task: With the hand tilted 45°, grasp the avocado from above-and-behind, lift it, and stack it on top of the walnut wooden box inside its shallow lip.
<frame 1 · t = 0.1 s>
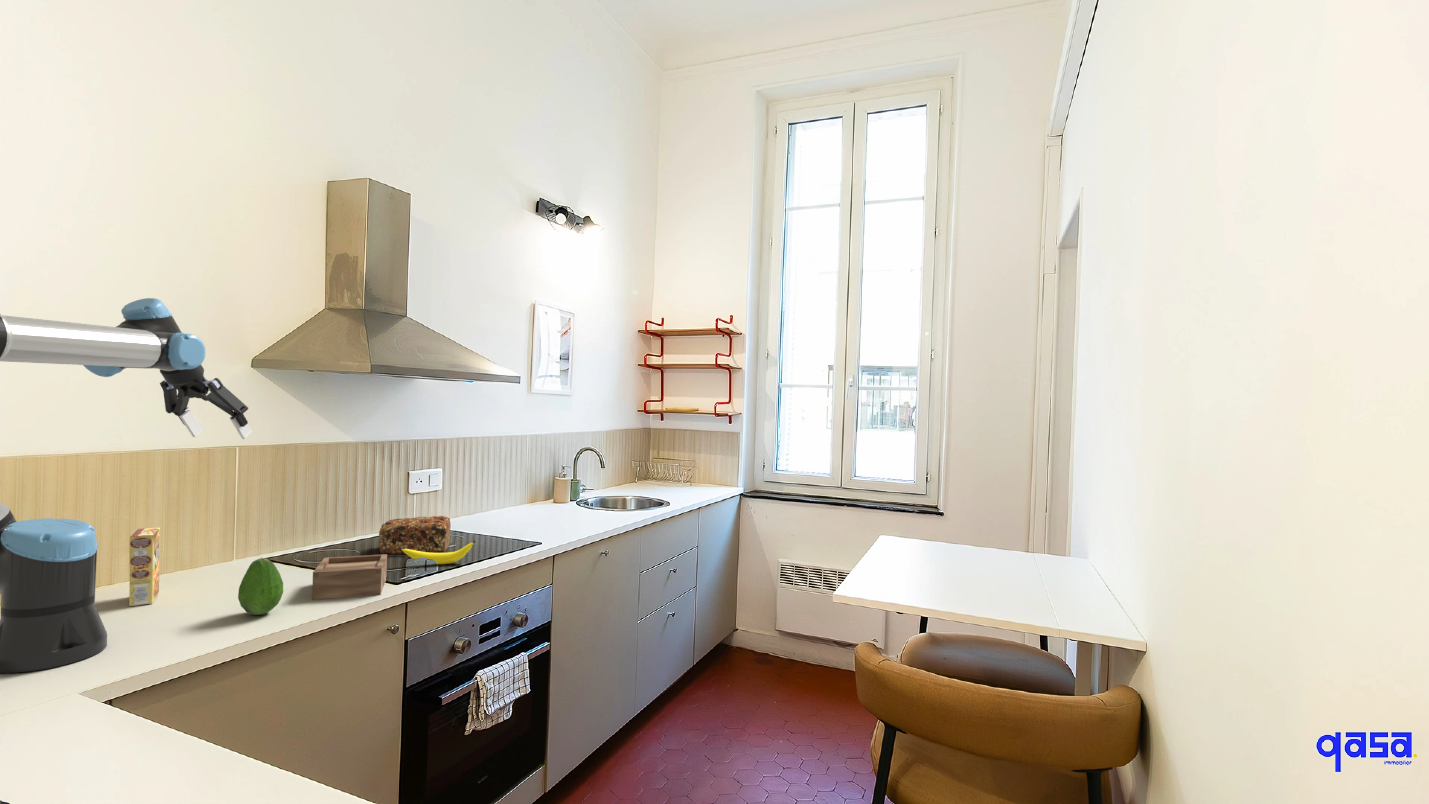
hand: (222, 434, 164), 36 cm above the counter, tool tilted 35°, fingers open, 13 cm apart
banana: (438, 565, 182), on the counter
candy box: (144, 601, 146), on the counter
walnut wooden box: (351, 588, 159), on the counter
bread: (415, 550, 198), on the counter
avocado: (260, 615, 139), on the counter
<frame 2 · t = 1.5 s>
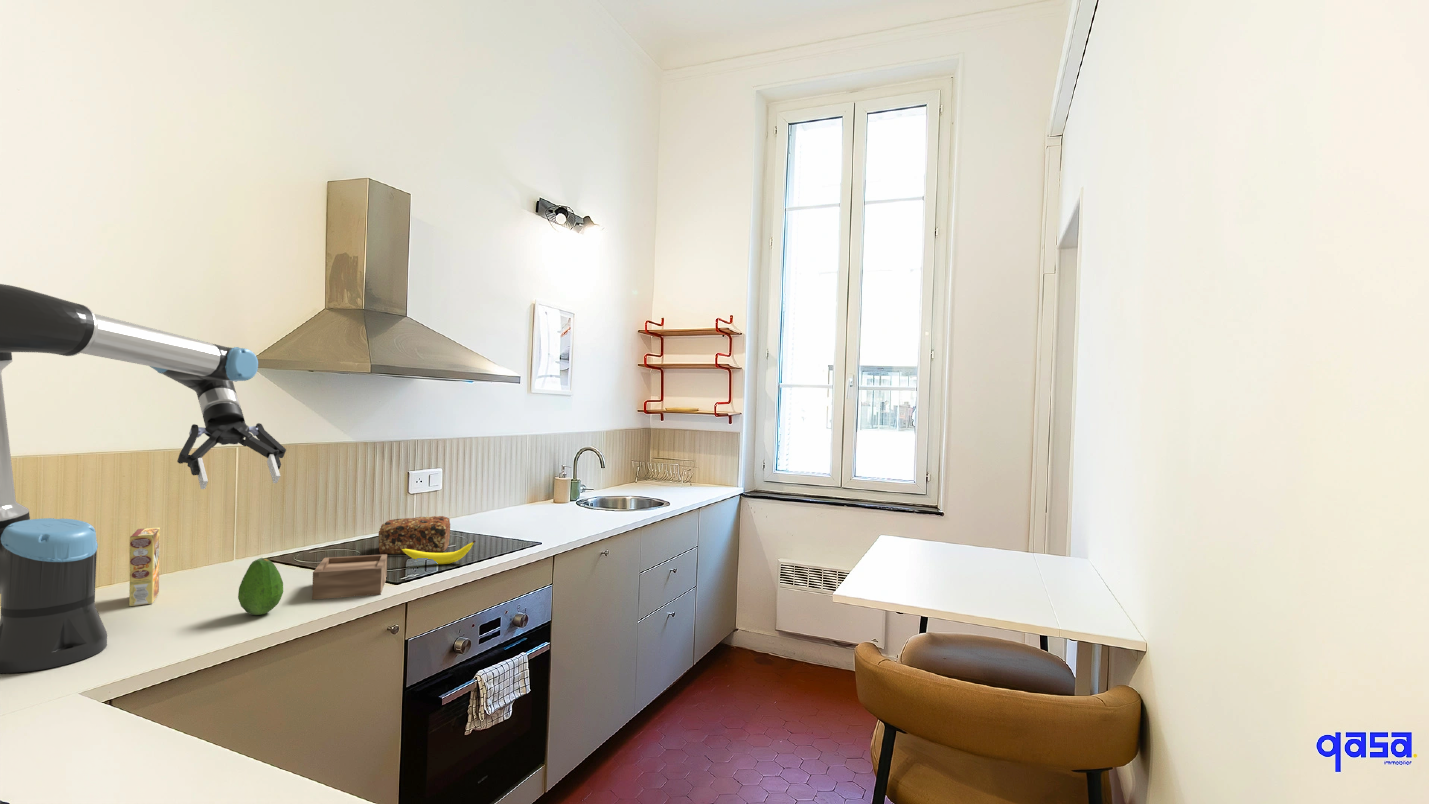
hand: (242, 482, 146), 27 cm above the counter, tool tilted 45°, fingers open, 13 cm apart
nothing on the counter moved.
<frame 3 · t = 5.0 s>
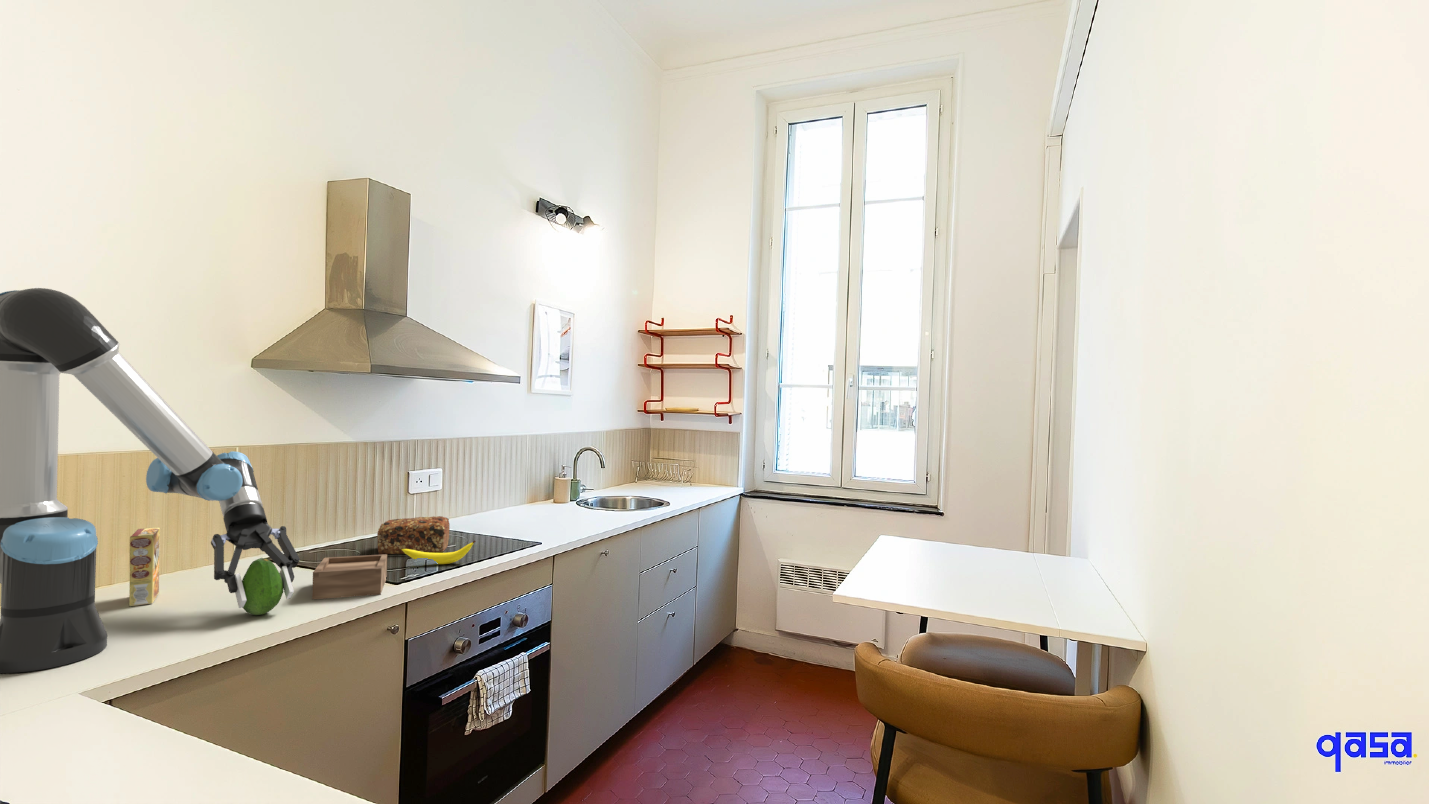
hand: (267, 599, 137), 4 cm above the counter, tool tilted 45°, fingers closed on avocado, 8 cm apart
avocado: (260, 614, 139), on the counter, touching gripper
everything else where it was.
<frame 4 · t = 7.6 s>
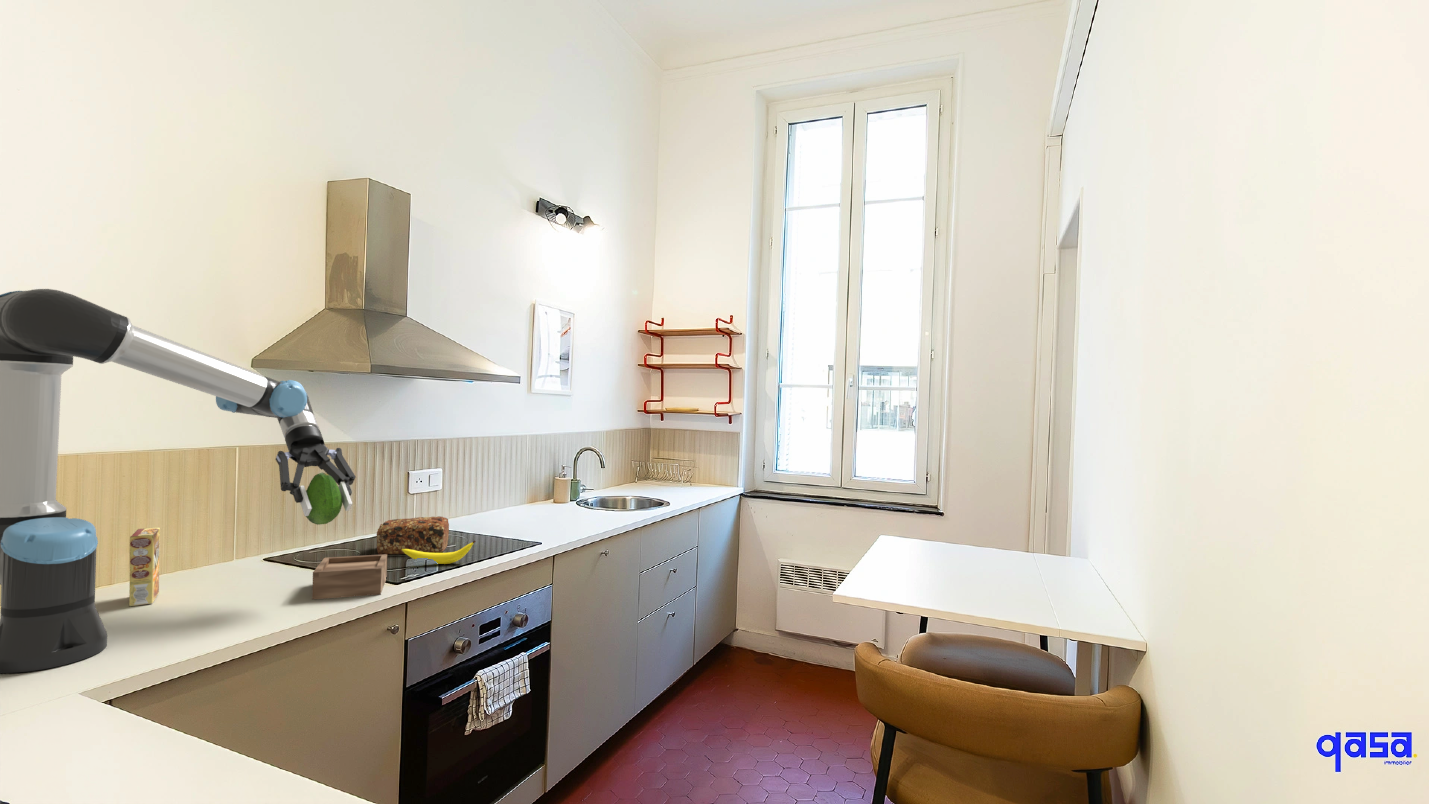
hand: (329, 509, 149), 21 cm above the counter, tool tilted 45°, fingers closed on avocado, 8 cm apart
avocado: (322, 525, 151), point 17 cm above the counter, touching gripper
everything else where it was.
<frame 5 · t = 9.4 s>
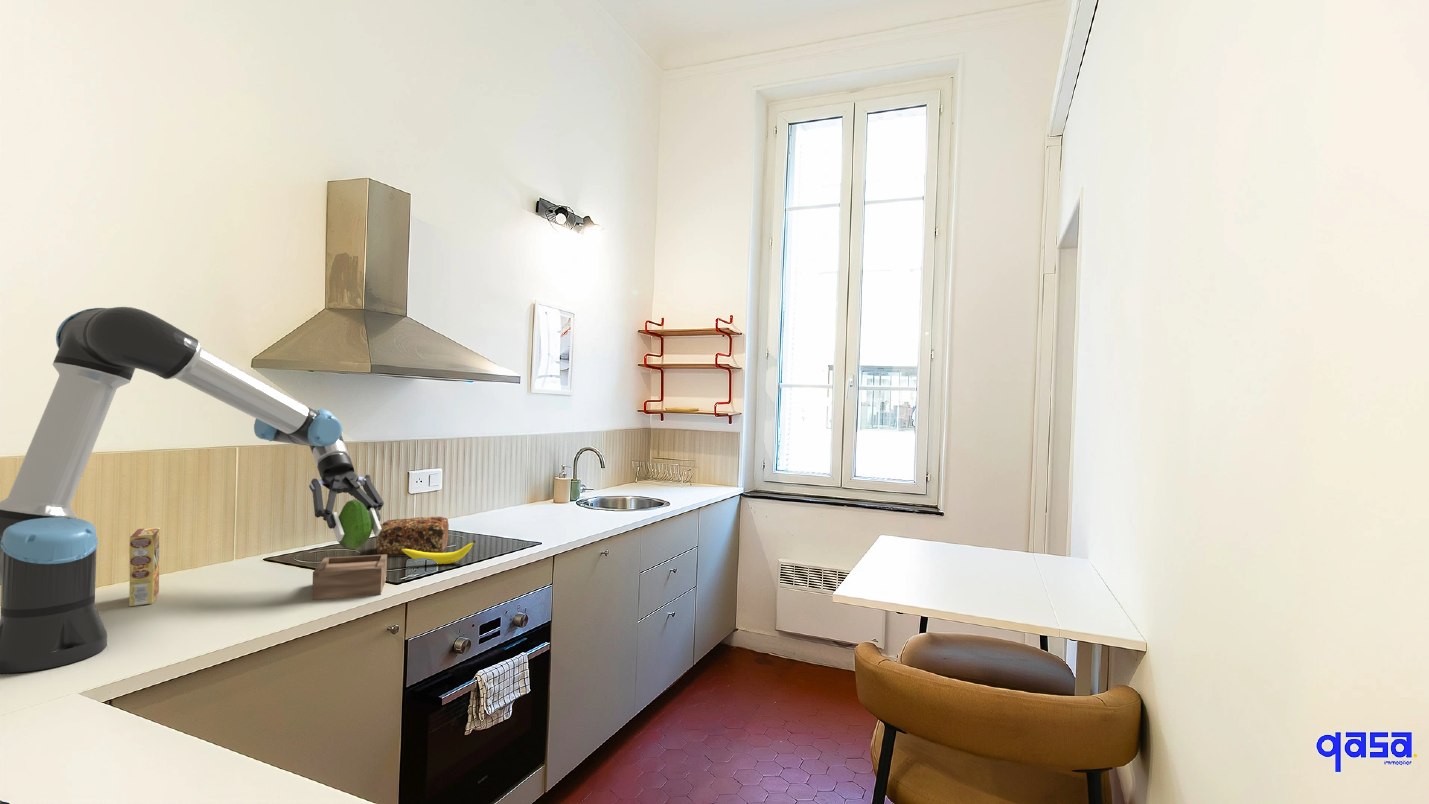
hand: (360, 535, 157), 13 cm above the counter, tool tilted 45°, fingers closed on avocado, 8 cm apart
avocado: (353, 549, 159), point 9 cm above the counter, touching gripper
when the fingers open (10 cm above the counter, at t = 10.6 s): avocado drops 1 cm, resting on walnut wooden box.
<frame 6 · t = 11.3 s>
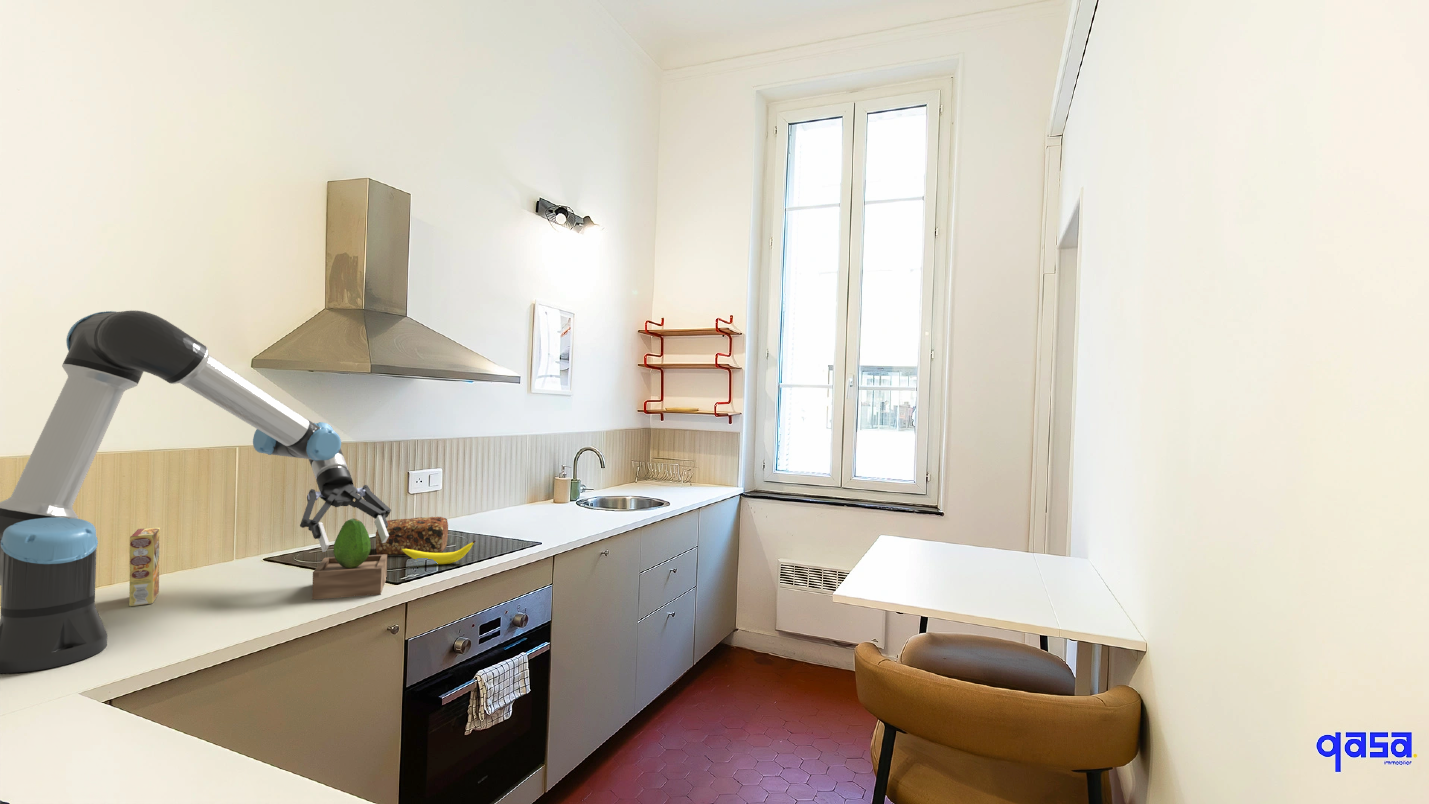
hand: (356, 544, 157), 11 cm above the counter, tool tilted 45°, fingers open, 13 cm apart
avocado: (351, 568, 159), point 5 cm above the counter, touching walnut wooden box
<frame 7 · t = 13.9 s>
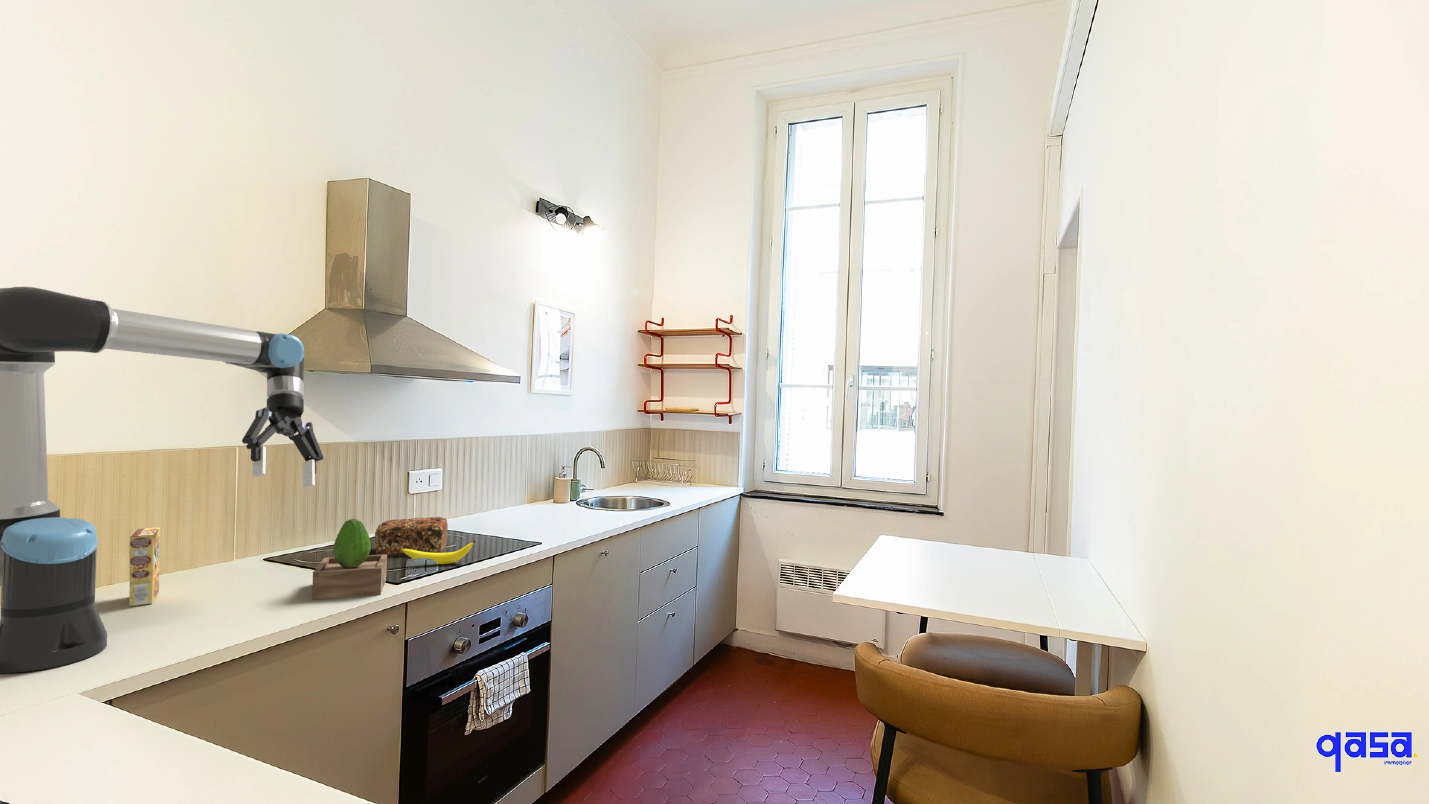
hand: (285, 481, 152), 26 cm above the counter, tool tilted 25°, fingers open, 13 cm apart
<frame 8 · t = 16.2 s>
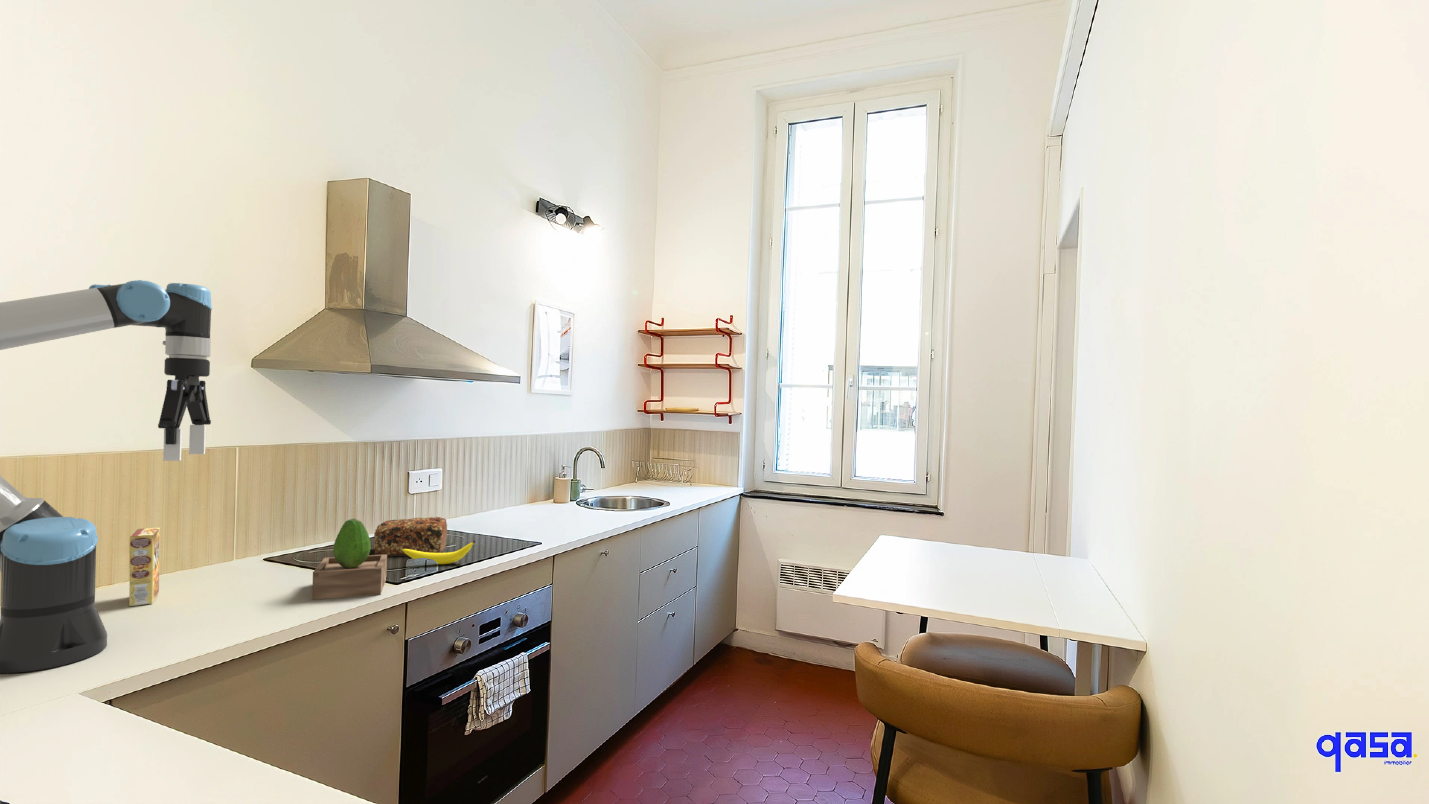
hand: (185, 457, 140), 33 cm above the counter, tool pointing down, fingers open, 13 cm apart
at the end: avocado inside the target area on the walnut wooden box (0.1 cm from its centre), point 4.8 cm above the walnut wooden box's base; the gripper is holding nothing; avocado tilted 0° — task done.
